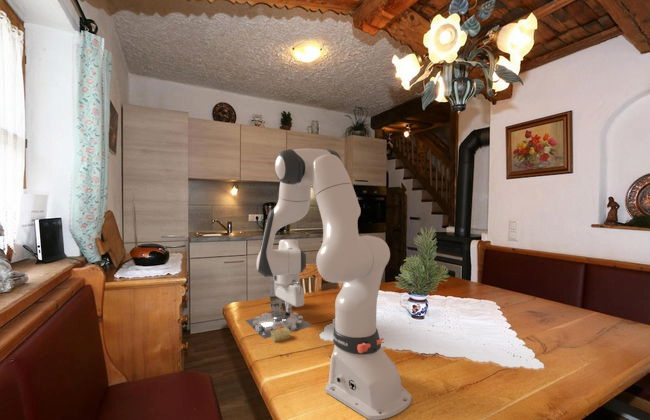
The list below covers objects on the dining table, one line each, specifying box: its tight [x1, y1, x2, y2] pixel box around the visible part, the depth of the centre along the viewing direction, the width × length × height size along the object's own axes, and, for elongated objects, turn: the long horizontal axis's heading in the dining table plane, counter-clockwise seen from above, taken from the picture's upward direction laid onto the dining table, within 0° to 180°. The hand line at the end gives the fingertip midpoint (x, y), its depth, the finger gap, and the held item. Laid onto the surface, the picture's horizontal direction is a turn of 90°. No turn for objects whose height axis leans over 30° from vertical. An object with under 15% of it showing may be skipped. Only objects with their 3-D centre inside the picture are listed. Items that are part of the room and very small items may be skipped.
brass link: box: [270, 327, 291, 343], centre depth 105 cm, size 3×6×4 cm, turn 123°
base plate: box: [245, 312, 313, 339], centre depth 119 cm, size 20×20×1 cm
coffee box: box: [269, 276, 285, 312], centre depth 137 cm, size 9×6×16 cm
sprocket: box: [253, 306, 304, 334], centre depth 119 cm, size 19×20×6 cm
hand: (288, 312), depth 122 cm, fingers closed, pressing on sprocket
